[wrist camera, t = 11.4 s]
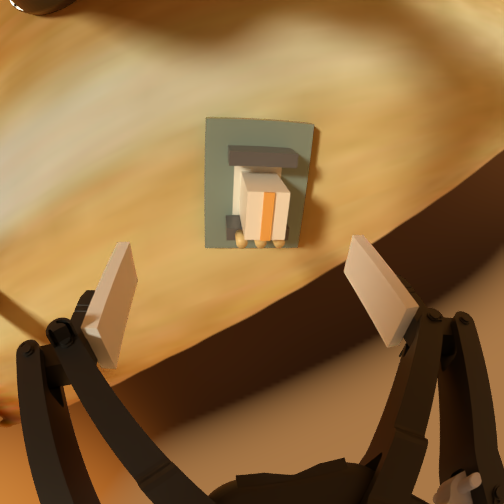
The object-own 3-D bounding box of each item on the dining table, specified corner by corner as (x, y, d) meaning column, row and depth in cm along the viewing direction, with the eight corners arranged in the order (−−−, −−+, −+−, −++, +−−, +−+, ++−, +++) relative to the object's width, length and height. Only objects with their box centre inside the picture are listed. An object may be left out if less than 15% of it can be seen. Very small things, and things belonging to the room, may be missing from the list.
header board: (206, 117, 30) (204, 123, 24) (310, 123, 32) (332, 131, 26) (205, 242, 38) (204, 273, 32) (294, 242, 40) (309, 271, 34)
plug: (241, 171, 32) (247, 192, 26) (276, 172, 33) (290, 193, 27) (238, 211, 35) (244, 240, 29) (272, 212, 35) (284, 240, 29)
